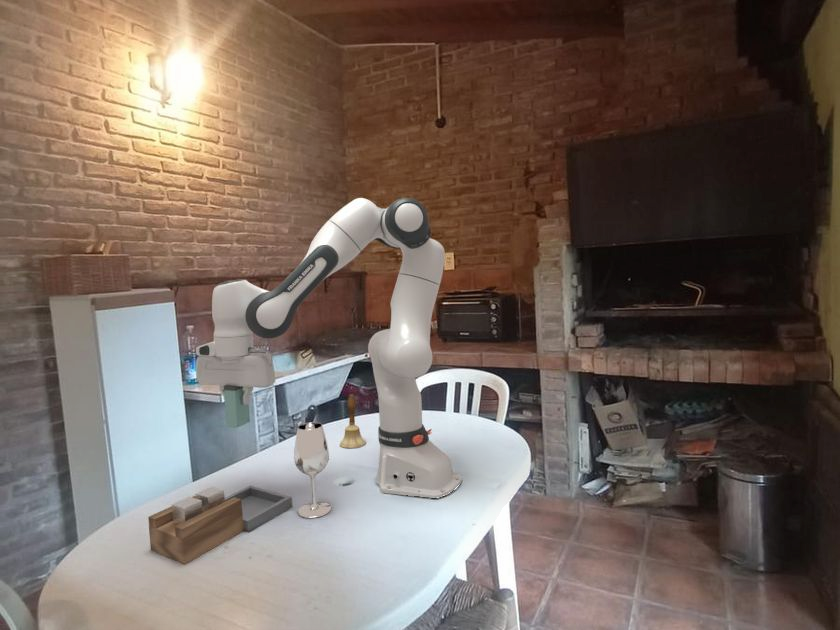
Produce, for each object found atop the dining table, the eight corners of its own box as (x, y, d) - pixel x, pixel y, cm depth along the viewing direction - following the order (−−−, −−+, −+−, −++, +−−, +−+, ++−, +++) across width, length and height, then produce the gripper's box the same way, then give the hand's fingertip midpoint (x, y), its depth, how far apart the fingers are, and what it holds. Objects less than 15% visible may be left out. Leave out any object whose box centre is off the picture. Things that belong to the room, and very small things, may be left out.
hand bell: (352, 438, 168) (350, 390, 167) (371, 442, 164) (369, 393, 162) (334, 445, 162) (331, 396, 160) (353, 450, 157) (351, 399, 155)
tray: (292, 506, 120) (291, 496, 120) (248, 532, 109) (247, 521, 109) (251, 495, 127) (250, 485, 127) (205, 518, 116) (205, 507, 116)
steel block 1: (203, 519, 105) (201, 500, 105) (185, 528, 102) (184, 508, 102) (190, 514, 107) (189, 496, 107) (173, 523, 104) (171, 504, 104)
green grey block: (239, 420, 128) (237, 381, 127) (250, 421, 127) (248, 381, 126) (225, 427, 123) (223, 385, 122) (236, 428, 122) (234, 386, 121)
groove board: (243, 530, 110) (241, 499, 109) (185, 564, 98) (182, 529, 97) (210, 519, 116) (208, 489, 115) (150, 549, 104) (147, 516, 103)
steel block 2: (225, 508, 110) (224, 490, 110) (209, 516, 107) (208, 497, 106) (213, 504, 112) (211, 486, 112) (197, 511, 109) (195, 493, 108)
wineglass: (302, 522, 113) (297, 433, 111) (293, 508, 120) (288, 424, 118) (336, 513, 117) (331, 427, 115) (326, 500, 123) (321, 419, 122)
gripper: (279, 346, 123) (281, 402, 124) (208, 344, 129) (211, 398, 130) (263, 350, 117) (266, 409, 118) (190, 348, 123) (193, 404, 124)
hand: (237, 403), depth 124 cm, fingers closed on green grey block, 3 cm apart
